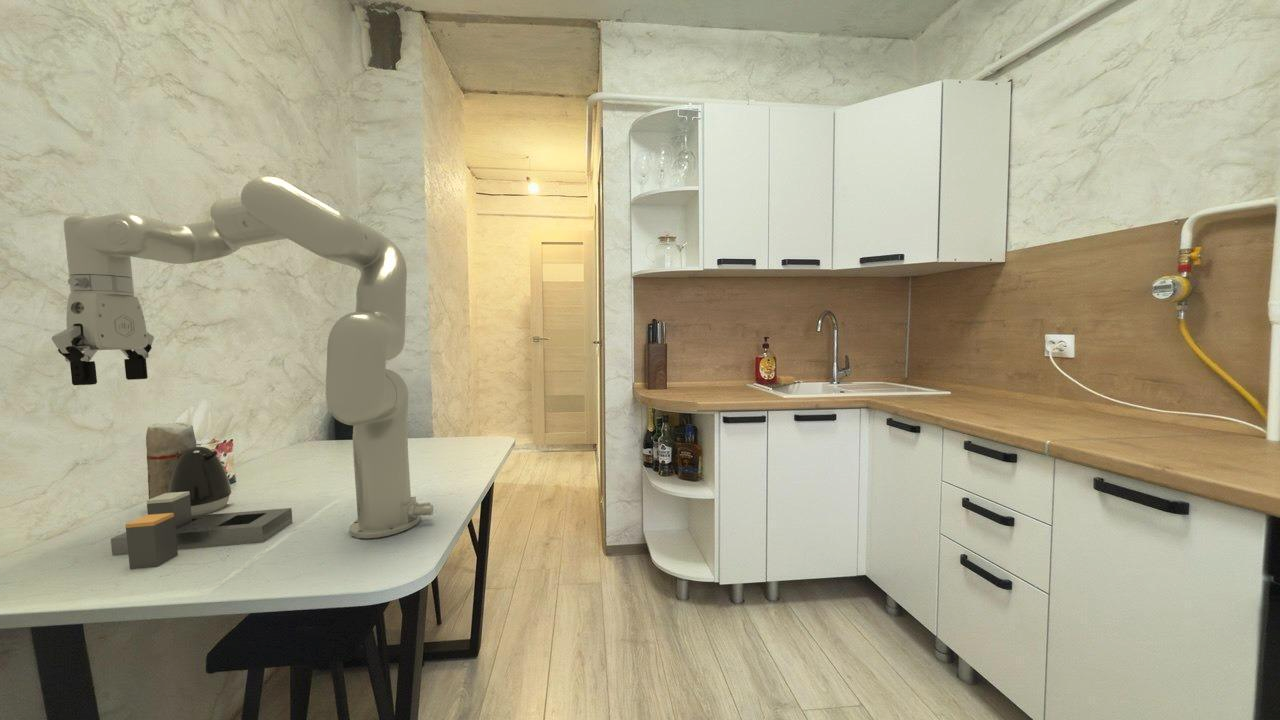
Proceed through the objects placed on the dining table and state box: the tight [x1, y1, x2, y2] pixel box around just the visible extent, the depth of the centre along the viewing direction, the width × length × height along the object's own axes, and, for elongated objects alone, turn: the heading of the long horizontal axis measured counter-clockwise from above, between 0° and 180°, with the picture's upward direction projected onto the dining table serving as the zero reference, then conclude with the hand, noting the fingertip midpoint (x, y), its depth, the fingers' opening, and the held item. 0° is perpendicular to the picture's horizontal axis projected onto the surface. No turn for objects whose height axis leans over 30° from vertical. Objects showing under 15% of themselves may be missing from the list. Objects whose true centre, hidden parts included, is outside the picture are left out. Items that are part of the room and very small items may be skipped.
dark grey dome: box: [168, 446, 232, 516], centre depth 102 cm, size 10×10×15 cm
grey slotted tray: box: [110, 507, 293, 556], centre depth 88 cm, size 24×9×4 cm, turn 98°
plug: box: [125, 513, 179, 570], centre depth 78 cm, size 4×4×9 cm
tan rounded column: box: [145, 422, 198, 500], centre depth 106 cm, size 8×8×20 cm
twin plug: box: [146, 491, 192, 530], centre depth 87 cm, size 4×4×9 cm
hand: (112, 381), depth 85 cm, fingers open, 9 cm apart
